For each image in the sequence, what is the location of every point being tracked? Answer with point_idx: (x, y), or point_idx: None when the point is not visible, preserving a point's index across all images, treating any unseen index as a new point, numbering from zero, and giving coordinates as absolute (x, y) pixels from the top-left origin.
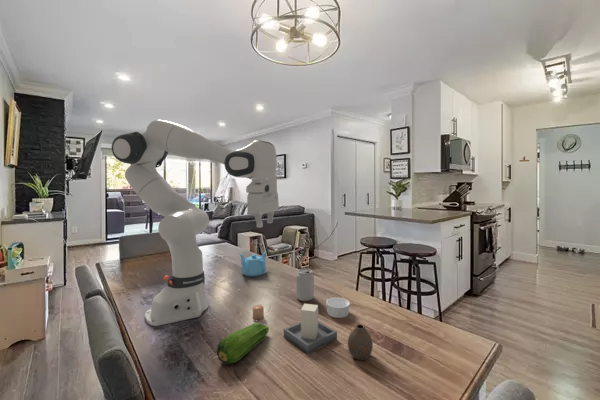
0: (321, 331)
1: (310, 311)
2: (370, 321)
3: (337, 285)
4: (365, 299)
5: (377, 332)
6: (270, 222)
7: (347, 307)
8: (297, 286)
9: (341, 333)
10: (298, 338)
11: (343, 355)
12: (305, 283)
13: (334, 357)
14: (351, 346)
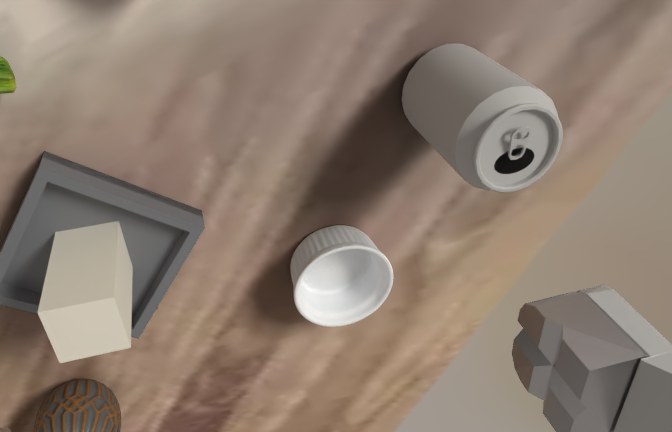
0: (143, 275)
1: (52, 346)
2: (304, 359)
3: (602, 172)
4: (470, 303)
5: (240, 391)
6: (523, 364)
7: (321, 321)
8: (444, 85)
9: (185, 316)
10: (6, 252)
11: (55, 361)
12: (440, 148)
13: (27, 346)
14: (36, 422)
